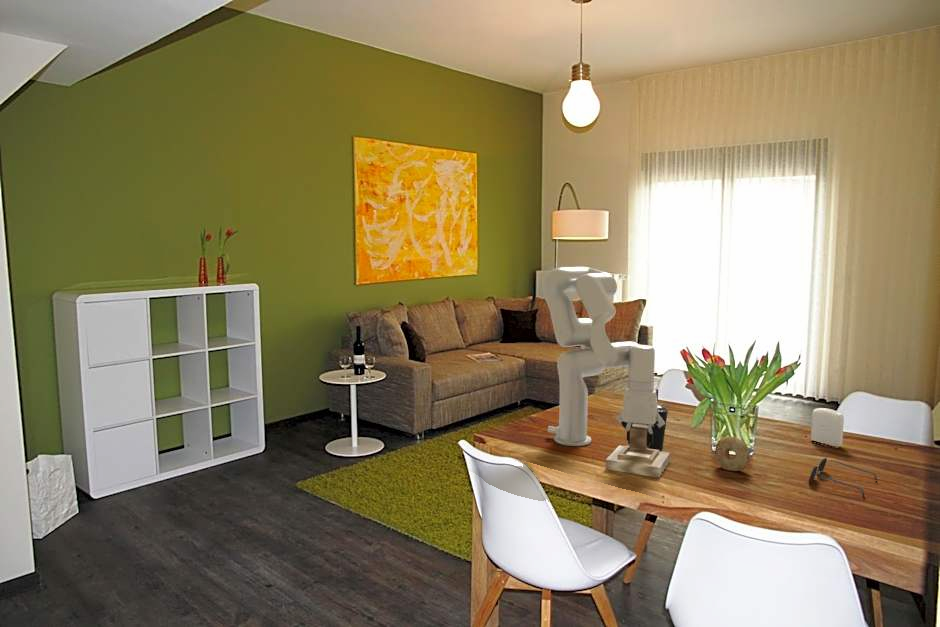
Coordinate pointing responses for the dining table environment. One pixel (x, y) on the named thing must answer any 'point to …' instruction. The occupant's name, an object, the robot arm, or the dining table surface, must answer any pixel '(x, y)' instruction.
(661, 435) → the drinking cup
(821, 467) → the sunglasses
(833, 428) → the photo printer
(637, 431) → the walnut block
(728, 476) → the dining table surface
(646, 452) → the base
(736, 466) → the stone disc
